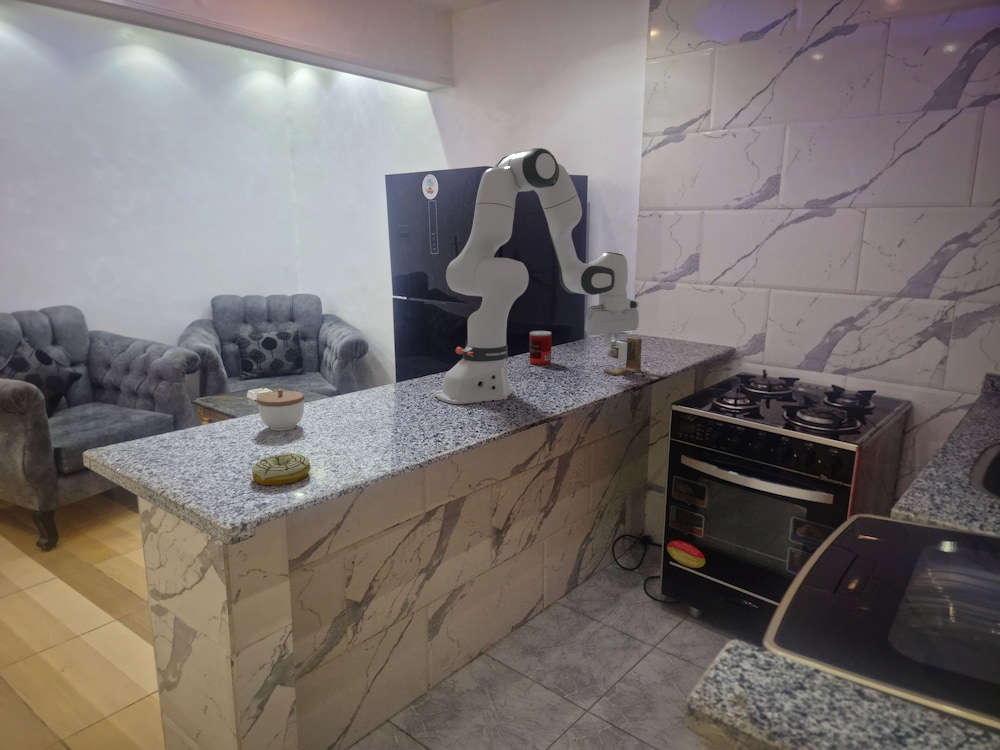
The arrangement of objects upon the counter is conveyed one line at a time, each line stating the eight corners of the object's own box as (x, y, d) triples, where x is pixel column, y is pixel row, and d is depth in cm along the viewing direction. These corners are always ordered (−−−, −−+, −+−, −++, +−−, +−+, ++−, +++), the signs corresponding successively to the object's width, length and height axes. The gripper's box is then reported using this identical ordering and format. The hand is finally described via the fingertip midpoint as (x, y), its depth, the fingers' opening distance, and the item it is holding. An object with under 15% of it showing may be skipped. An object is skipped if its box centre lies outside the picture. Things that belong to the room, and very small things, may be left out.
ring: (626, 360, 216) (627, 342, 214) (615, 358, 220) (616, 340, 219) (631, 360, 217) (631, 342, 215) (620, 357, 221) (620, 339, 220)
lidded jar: (315, 424, 163) (312, 387, 161) (281, 436, 154) (277, 397, 152) (284, 418, 168) (282, 382, 166) (250, 429, 159) (246, 391, 157)
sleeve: (619, 361, 214) (620, 343, 213) (608, 359, 218) (609, 341, 217) (626, 360, 216) (627, 342, 214) (615, 358, 220) (616, 340, 219)
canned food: (551, 361, 238) (551, 330, 235) (550, 365, 230) (551, 334, 227) (530, 360, 238) (530, 330, 236) (528, 365, 231) (529, 334, 228)
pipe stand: (613, 375, 214) (615, 342, 212) (603, 373, 218) (604, 340, 216) (641, 371, 220) (642, 338, 218) (630, 368, 224) (631, 336, 222)
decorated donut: (247, 475, 131) (245, 457, 130) (301, 464, 136) (300, 447, 135) (260, 492, 122) (258, 473, 121) (317, 480, 128) (316, 461, 127)
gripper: (594, 307, 203) (593, 351, 206) (642, 302, 214) (640, 344, 217) (581, 305, 209) (580, 348, 212) (629, 300, 219) (627, 341, 222)
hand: (611, 346), depth 215 cm, fingers closed
